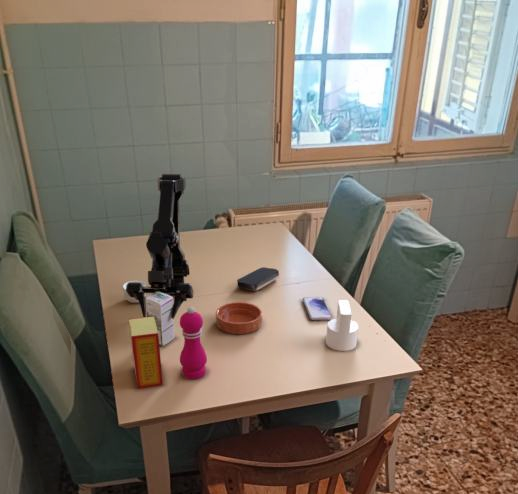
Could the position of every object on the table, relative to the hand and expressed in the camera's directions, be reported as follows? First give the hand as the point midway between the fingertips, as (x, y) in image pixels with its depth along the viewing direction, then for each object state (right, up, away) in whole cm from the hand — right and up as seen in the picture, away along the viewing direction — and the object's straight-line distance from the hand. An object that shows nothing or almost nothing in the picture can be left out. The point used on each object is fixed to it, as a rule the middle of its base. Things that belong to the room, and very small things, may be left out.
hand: (158, 318), depth 163 cm
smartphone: (+48, +4, +24) cm, 54 cm away
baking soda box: (-1, -16, -11) cm, 19 cm away
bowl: (+23, -1, +15) cm, 27 cm away
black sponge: (+29, +14, +40) cm, 51 cm away
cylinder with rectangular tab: (+53, -7, +6) cm, 54 cm away
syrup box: (0, -6, +6) cm, 8 cm away
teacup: (-12, +7, +27) cm, 30 cm away
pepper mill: (+11, -15, -9) cm, 21 cm away
